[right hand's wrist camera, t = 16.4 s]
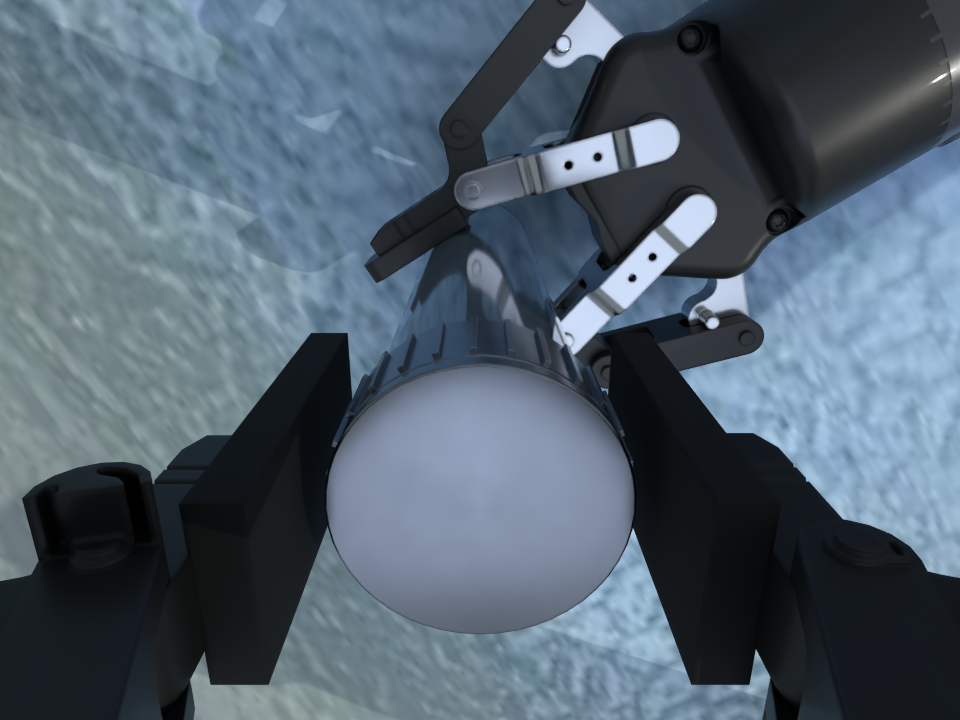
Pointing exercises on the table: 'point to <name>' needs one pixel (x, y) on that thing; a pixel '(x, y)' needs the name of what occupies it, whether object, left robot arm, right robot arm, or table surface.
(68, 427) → the table surface
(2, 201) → the table surface
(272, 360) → the table surface
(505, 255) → the slate blue rod
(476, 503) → the lid
